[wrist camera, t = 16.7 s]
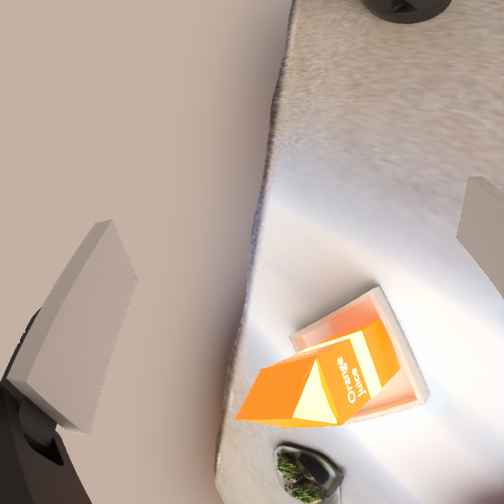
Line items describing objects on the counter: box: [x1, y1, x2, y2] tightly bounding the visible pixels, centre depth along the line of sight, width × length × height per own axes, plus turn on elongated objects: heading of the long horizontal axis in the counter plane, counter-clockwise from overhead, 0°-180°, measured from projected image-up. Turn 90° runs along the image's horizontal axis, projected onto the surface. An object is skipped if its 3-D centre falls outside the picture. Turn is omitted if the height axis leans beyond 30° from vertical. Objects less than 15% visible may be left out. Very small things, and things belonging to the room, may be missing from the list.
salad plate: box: [274, 444, 344, 504], centre depth 47 cm, size 19×18×5 cm
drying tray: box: [289, 286, 430, 427], centre depth 40 cm, size 17×17×2 cm
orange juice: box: [235, 318, 400, 428], centre depth 32 cm, size 8×9×20 cm
